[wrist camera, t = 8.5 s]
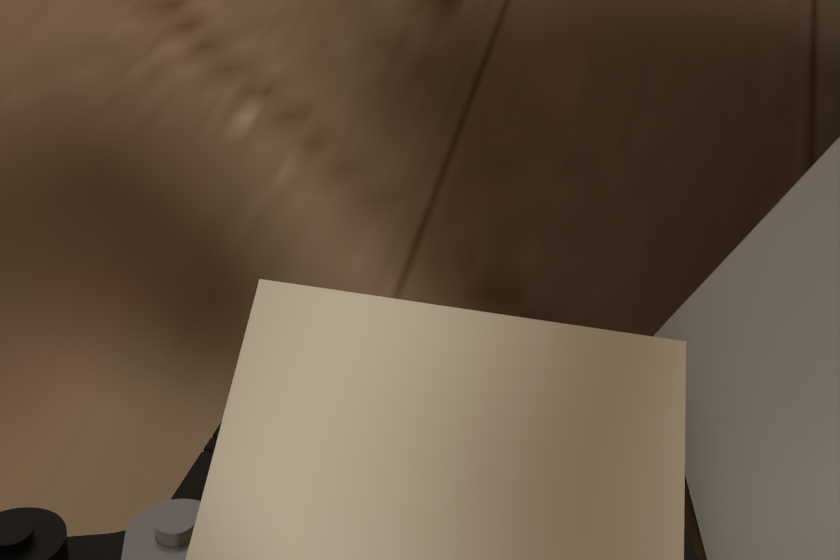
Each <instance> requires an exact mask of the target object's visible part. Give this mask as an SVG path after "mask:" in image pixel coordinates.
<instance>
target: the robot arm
mask: <svg viewBox="0 0 840 560" xmlns="http://www.w3.org/2000/svg"><path fill="white" fill-rule="evenodd" d="M221 423H222V422H221ZM221 423H220V425H219V426H218V428H217V429H216V431H215V432H214V434H213V438H211V439H210V440H209V442H208V443H207V445H206V446H205V448H204V452H201V454H200V455H199V457H198V459H197V460H196V462H195V463H194V465H193V466H192V468H191V469H190V471H189V472H188V474H187V475H186V477H185V478H184V480H183V482H182V483H181V485H180V486H179V488H178V489H177V491H176V492H175V494H174V495H173V497H172V498H171V500H167V501H162V502H159V503H156V504H154V505H151V506H149V507H147V508H146V509H144V510H142V511H141V512H140V513H138V514H137V515H136V516H135V517H134V518H133V519H132V520H131V522H130V523H129V525H128V527H127V529H126V531H121V532H117V533H109V534H99V535H85V536H72V537H67V530H66V525H65V522H64V521H63V520H62V518H61V517H60V516H58V515H57V514H56V513H53V512H51V511H49V510H45V509H41V508H28V507H26V508H16V509H10V510H6V511H2V512H0V560H185V559H186V556H187V552H188V548H189V544H190V541H191V537H192V533H193V529H194V525H195V522H196V518H197V514H198V510H199V506H200V503H201V499H202V495H203V491H204V487H205V484H206V480H207V476H208V472H209V469H210V465H211V461H212V457H213V453H214V450H215V446H216V442H217V438H218V434H219V431H220V427H221ZM684 560H697V558H696V555H695V552H694V549H693V546H692V544H691V541H690V538H689V535H688V532H687V530H685V523H684Z"/></svg>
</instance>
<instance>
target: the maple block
mask: <svg viewBox="0 0 840 560" xmlns="http://www.w3.org/2000/svg"><path fill="white" fill-rule="evenodd" d="M685 409H686V341H680V340H673V339H666V338H659V337H652V336H646V335H639V334H632V333H625V332H618V331H611V330H605V329H598V328H591V327H584V326H577V325H570V324H564V323H557V322H550V321H543V320H536V319H530V318H523V317H516V316H509V315H502V314H495V313H489V312H482V311H475V310H468V309H461V308H454V307H448V306H441V305H434V304H427V303H420V302H414V301H407V300H400V299H393V298H386V297H379V296H373V295H366V294H359V293H352V292H345V291H338V290H332V289H325V288H318V287H311V286H304V285H298V284H291V283H284V282H277V281H270V280H263V279H259V283H258V287H257V290H256V294H255V298H254V302H253V306H252V309H251V313H250V317H249V321H248V325H247V328H246V332H245V336H244V340H243V343H242V347H241V351H240V355H239V359H238V362H237V366H236V370H235V374H234V378H233V381H232V385H231V389H230V393H229V397H228V400H227V404H226V408H225V412H224V415H223V419H222V423H221V427H220V431H219V434H218V438H217V442H216V446H215V450H214V453H213V457H212V461H211V465H210V469H209V472H208V476H207V480H206V484H205V487H204V491H203V495H202V499H201V503H200V506H199V510H198V514H197V518H196V522H195V525H194V529H193V533H192V537H191V541H190V544H189V548H188V552H187V556H186V559H185V560H684V502H685Z"/></svg>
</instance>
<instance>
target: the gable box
mask: <svg viewBox="0 0 840 560" xmlns="http://www.w3.org/2000/svg"><path fill="white" fill-rule="evenodd" d="M653 337H659V338H666V339H673V340H680V341H686V409H685V477H686V481H687V484H688V488H689V492H690V496H691V500H692V504H693V507H694V511H695V515H696V519H697V523H698V527H699V530H700V534H701V538H702V542H703V546H704V550H705V553H706V557H707V560H840V137H839V138H838V139H837V140H836V141H835V142H834V143H833V144H832V145H831V146H830V147H829V148H828V149H827V150H826V152H825V153H824V154H823V155H822V156H821V157H820V158H819V159H818V160H817V161H816V162H815V163H814V164H813V165H812V167H811V168H810V169H809V170H808V171H807V172H806V173H805V174H804V175H803V176H802V177H801V178H800V179H799V180H798V181H797V183H796V184H795V185H794V186H793V187H792V188H791V189H790V190H789V191H788V192H787V193H786V194H785V195H784V196H783V198H782V199H781V200H780V201H779V202H778V203H777V204H776V205H775V206H774V207H773V208H772V209H771V210H770V211H769V212H768V214H767V215H766V216H765V217H764V218H763V219H762V220H761V221H760V222H759V223H758V224H757V225H756V226H755V227H754V229H753V230H752V231H751V232H750V233H749V234H748V235H747V236H746V237H745V238H744V239H743V240H742V241H741V242H740V243H739V245H738V246H737V247H736V248H735V249H734V250H733V251H732V252H731V253H730V254H729V255H728V256H727V257H726V258H725V260H724V261H723V262H722V263H721V264H720V265H719V266H718V267H717V268H716V269H715V270H714V271H713V272H712V273H711V274H710V276H709V277H708V278H707V279H706V280H705V281H704V282H703V283H702V284H701V285H700V286H699V287H698V288H697V289H696V290H695V292H694V293H693V294H692V295H691V296H690V297H689V298H688V299H687V300H686V301H685V302H684V303H683V304H682V305H681V307H680V308H679V309H678V310H677V311H676V312H675V313H674V314H673V315H672V316H671V317H670V318H669V319H668V320H667V321H666V323H665V324H664V325H663V326H662V327H661V328H660V329H659V330H658V331H657V332H656V333H655V334H654V335H653Z"/></svg>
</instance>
